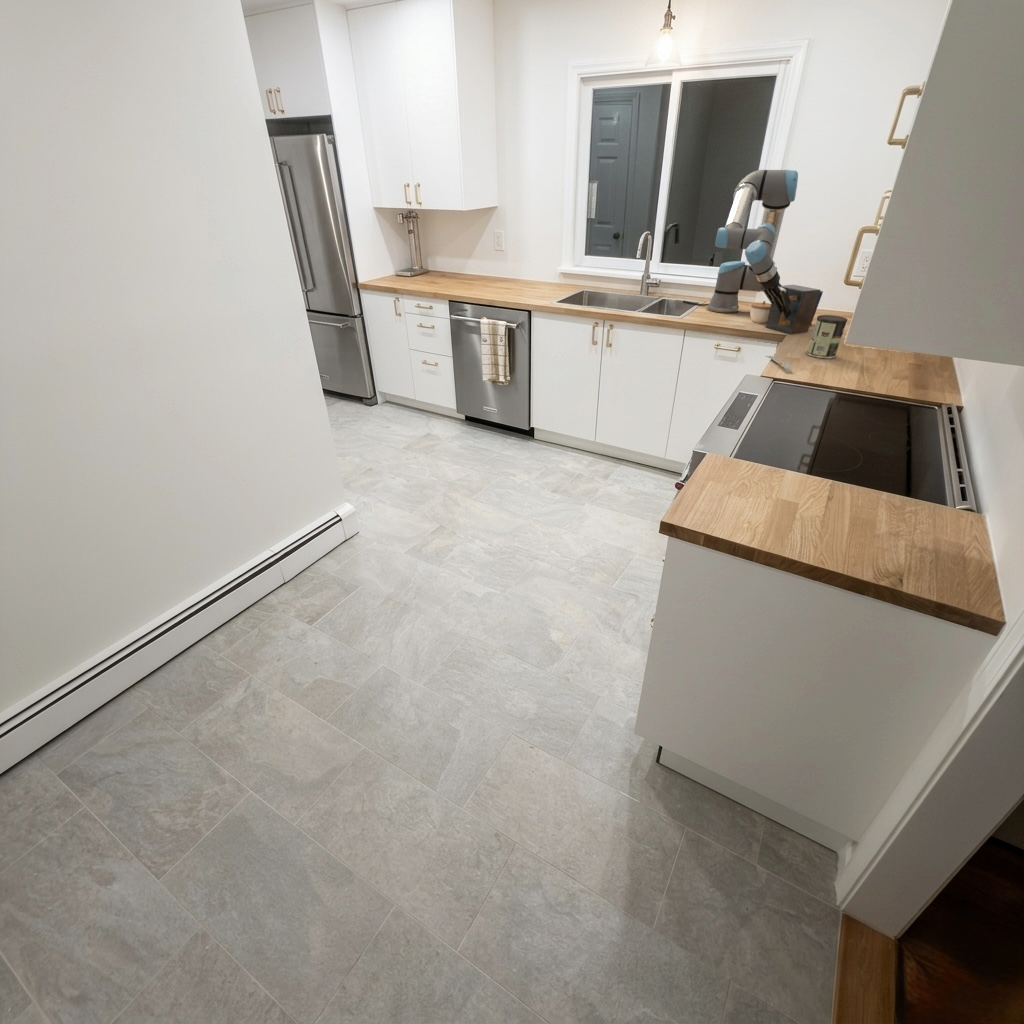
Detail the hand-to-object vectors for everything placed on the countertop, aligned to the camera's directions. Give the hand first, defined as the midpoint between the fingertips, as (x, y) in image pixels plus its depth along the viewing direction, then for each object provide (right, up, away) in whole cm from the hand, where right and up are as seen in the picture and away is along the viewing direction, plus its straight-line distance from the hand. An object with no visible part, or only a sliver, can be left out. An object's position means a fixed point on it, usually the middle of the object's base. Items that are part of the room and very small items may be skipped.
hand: (786, 315), depth 234 cm
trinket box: (-1, +6, +25) cm, 25 cm away
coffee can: (+1, -25, -24) cm, 34 cm away
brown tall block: (+19, +3, +21) cm, 29 cm away
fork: (-22, -32, -36) cm, 52 cm away
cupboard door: (-2, -4, +8) cm, 9 cm away
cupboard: (+6, -3, +11) cm, 13 cm away
